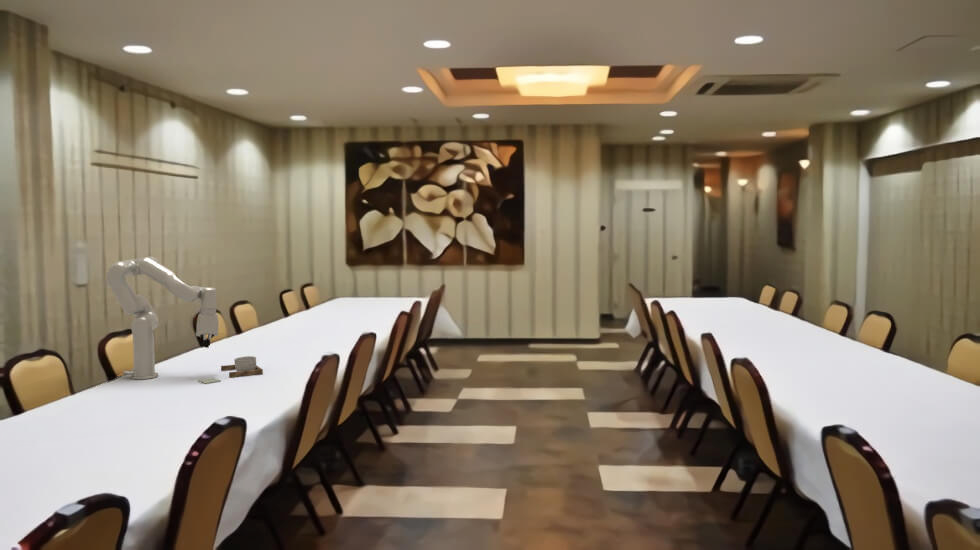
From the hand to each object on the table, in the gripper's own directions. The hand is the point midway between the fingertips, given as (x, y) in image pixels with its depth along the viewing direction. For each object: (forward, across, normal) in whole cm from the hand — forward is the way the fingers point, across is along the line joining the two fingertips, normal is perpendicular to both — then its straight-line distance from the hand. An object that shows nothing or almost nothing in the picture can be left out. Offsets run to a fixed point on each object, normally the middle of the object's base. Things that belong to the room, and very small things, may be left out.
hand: (206, 347), depth 361 cm
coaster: (+15, -1, -15) cm, 21 cm away
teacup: (+14, +20, -1) cm, 25 cm away
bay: (+14, +17, -1) cm, 22 cm away
